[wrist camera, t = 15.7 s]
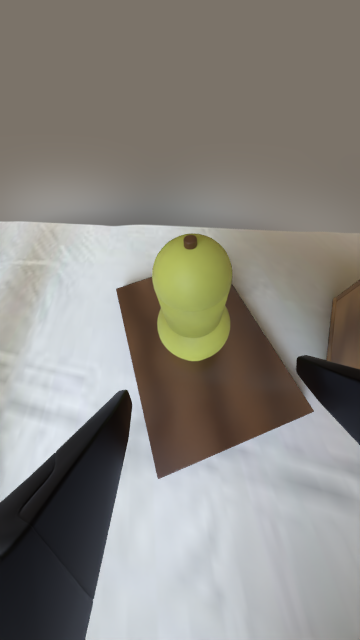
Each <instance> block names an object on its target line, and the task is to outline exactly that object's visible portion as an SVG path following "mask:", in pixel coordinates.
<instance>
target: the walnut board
mask: <svg viewBox="0 0 360 640" xmlns="http://www.w3.org/2000/svg"><path fill="white" fill-rule="evenodd" d="M116 291H117V295H118V300H119V304H120V309H121V313H122V318H123V323H124V327H125V332H126V336H127V341H128V345H129V350H130V354H131V359H132V363H133V368H134V373H135V377H136V382H137V386H138V391H139V395H140V400H141V404H142V409H143V413H144V418H145V422H146V427H147V432H148V436H149V441H150V445H151V450H152V454H153V459H154V463H155V468H156V472H157V477H158V479H160V478H162V477H165V476H167V475H169V474H172V473H174V472H176V471H178V470H181V469H183V468H185V467H188V466H190V465H192V464H195V463H197V462H199V461H201V460H204V459H206V458H208V457H211V456H213V455H215V454H218V453H220V452H222V451H224V450H227V449H229V448H231V447H234V446H236V445H238V444H240V443H243V442H245V441H247V440H250V439H252V438H254V437H257V436H259V435H261V434H263V433H266V432H268V431H270V430H273V429H275V428H277V427H280V426H282V425H284V424H286V423H289V422H291V421H293V420H296V419H298V418H300V417H302V416H305V415H307V414H309V413H312V412H314V410H313V409H312V407H311V406H310V404H309V403H308V401H307V400H306V398H305V396H304V395H303V393H302V392H301V390H300V389H299V387H298V386H297V384H296V383H295V381H294V379H293V378H292V376H291V375H290V373H289V372H288V370H287V369H286V367H285V366H284V364H283V362H282V361H281V359H280V358H279V356H278V355H277V353H276V352H275V350H274V349H273V347H272V345H271V344H270V342H269V341H268V339H267V338H266V336H265V335H264V333H263V332H262V330H261V329H260V327H259V325H258V324H257V322H256V321H255V319H254V318H253V316H252V315H251V313H250V312H249V310H248V308H247V307H246V305H245V304H244V302H243V301H242V299H241V298H240V296H239V295H238V293H237V291H236V290H235V288H234V287H233V285H232V284H231V287H230V290H229V294H228V297H227V300H226V304H225V306H226V308H227V310H228V313H229V316H230V332H229V335H228V338H227V340H226V342H225V344H224V345H223V347H222V348H221V349H220V350H219V351H218V352H217V353H215V354H214V355H212V356H211V357H208V358H206V359H203V360H200V361H188V360H185V359H182V358H180V357H177V356H176V355H174V354H172V353H171V352H170V351H169V350H168V349H167V348H166V347H165V346H164V344H163V343H162V341H161V339H160V336H159V333H158V327H157V321H158V315H159V312H160V309H161V306H160V303H159V301H158V298H157V295H156V293H155V290H154V286H153V281H152V277H150V278H147V279H144V280H141V281H138V282H135V283H132V284H129V285H126V286H123V287H120V288H117V289H116Z"/></svg>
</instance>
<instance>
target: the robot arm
mask: <svg viewBox="0 0 360 640" xmlns="http://www.w3.org/2000/svg"><path fill="white" fill-rule="evenodd" d="M296 371H297V374H298V375H299V377H300V378H301V379H302V380H303V382H304V383H305V384H306V386H307V387H308V388H309V389H310V391H311V392H312V393H313V394H314V396H315V397H316V398H317V399H318V401H319V402H320V403H321V404H322V405H323V406H324V407H325V408H326V409H327V410H328V412H329V413H330V414H331V415H332V416H333V417H334V418H335V419H336V420H337V421H338V422H339V423H340V424H341V425H342V426H343V428H344V429H345V430H346V431H347V432H348V433H349V434H350V435H351V436H352V437H353V438H354V439H355V440H356V441H357V442H358V444H359V445H360V369H357V368H353V367H349V366H345V365H342V364H338V363H334V362H330V361H326V360H323V359H319V358H315V357H311V356H307V355H304V356H299V357H298V358H297V365H296ZM131 412H132V401H131V398H130V395H129V393H128V391H127V390H122V391H119V392H117V393H116V394H115V395H114V396H113V397H112V398H111V399H110V400H109V401H108V402H107V403H106V404H105V405H104V406H103V407H102V408H101V409H100V410H99V411H98V412H97V413H96V414H95V415H94V416H93V417H91V418H90V419H89V420H88V421H87V422H86V423H85V424H84V425H83V426H82V427H81V428H80V429H79V430H78V431H77V432H76V433H75V434H74V435H73V436H72V437H71V438H70V439H69V440H68V441H67V442H65V443H64V444H63V445H62V446H61V447H60V448H59V449H58V450H57V451H56V453H54V454H53V455H52V456H51V457H50V458H49V459H48V460H47V461H46V462H45V463H44V464H43V465H41V466H40V467H39V468H38V469H37V470H36V471H35V472H34V473H33V474H32V475H31V476H30V477H29V478H27V479H26V480H25V481H24V482H23V483H22V484H21V485H20V486H19V487H17V488H16V489H15V490H14V491H13V492H12V493H11V494H10V495H8V496H7V497H6V498H5V499H4V500H3V501H2V502H0V640H85V637H86V633H87V628H88V623H89V619H90V614H91V610H92V605H93V599H94V595H95V590H96V586H97V581H98V577H99V572H100V567H101V563H102V558H103V554H104V549H105V544H106V540H107V535H108V530H109V526H110V521H111V517H112V512H113V507H114V503H115V498H116V494H117V489H118V484H119V480H120V475H121V470H122V466H123V461H124V457H125V452H126V447H127V443H128V437H129V430H130V421H131Z"/></svg>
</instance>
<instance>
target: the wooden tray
mask: <svg viewBox="0 0 360 640" xmlns="http://www.w3.org/2000/svg"><path fill="white" fill-rule="evenodd" d="M327 361H330V362H334V363H338V364H342V365H345V366H349V367H353V368H357V369H360V280H358V281H357V282H356V283H354V284H353V285H352V286H350V287H349V288H348V289H346V290H345V291H344V292H342V293H341V294H340V295H338V296H337V297H336V298H334V299H333V305H332V314H331V324H330V333H329V342H328V351H327Z"/></svg>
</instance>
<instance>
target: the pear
mask: <svg viewBox="0 0 360 640" xmlns="http://www.w3.org/2000/svg"><path fill="white" fill-rule="evenodd" d="M152 281H153V286H154V290H155V293H156V295H157V298H158V301H159V303H160V306H161V309H160V312H159V315H158V321H157V327H158V333H159V336H160V339H161V341H162V343H163V344H164V346H165V347H166V348H167V349H168V350H169V351H170V352H171V353H172V354H174V355H176V356H177V357H180V358H182V359H185V360H188V361H200V360H203V359H206V358H208V357H211V356H212V355H214V354H215V353H217V352H218V351H219V350H220V349H221V348H222V347H223V345H224V344H225V342H226V340H227V338H228V335H229V332H230V316H229V313H228V310H227V308H226V306H225V304H226V300H227V297H228V294H229V290H230V287H231V282H232V266H231V262H230V259H229V257H228V255H227V253H226V251H225V250H224V249H223V247H222V246H221V245H220V244H219V243H217V242H216V241H215V240H213V239H212V238H210V237H207V236H204V235H201V234H185V235H181V236H179V237H176V238H174V239H172V240H171V241H169V242H168V243H167V244H166V245H165V246H164V247H163V248H162V249H161V251H160V252H159V253H158V255H157V257H156V259H155V262H154V265H153V271H152Z"/></svg>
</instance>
